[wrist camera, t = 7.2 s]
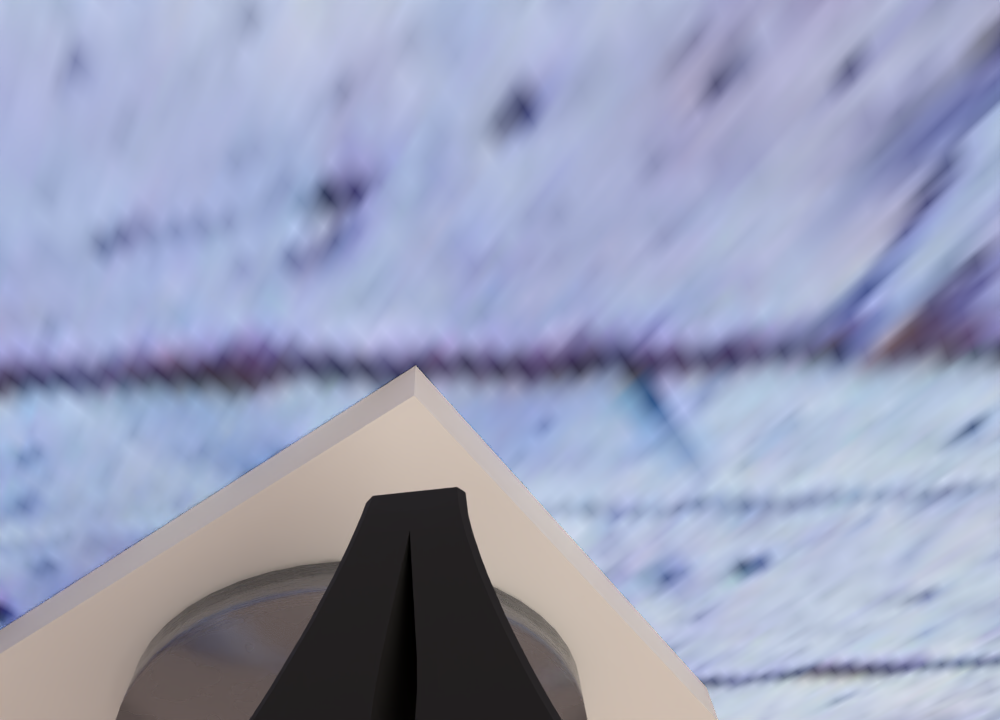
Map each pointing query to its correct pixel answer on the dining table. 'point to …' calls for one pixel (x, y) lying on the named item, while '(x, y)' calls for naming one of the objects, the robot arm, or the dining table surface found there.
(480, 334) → the dining table surface
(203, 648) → the rotary indexing table
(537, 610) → the plate
